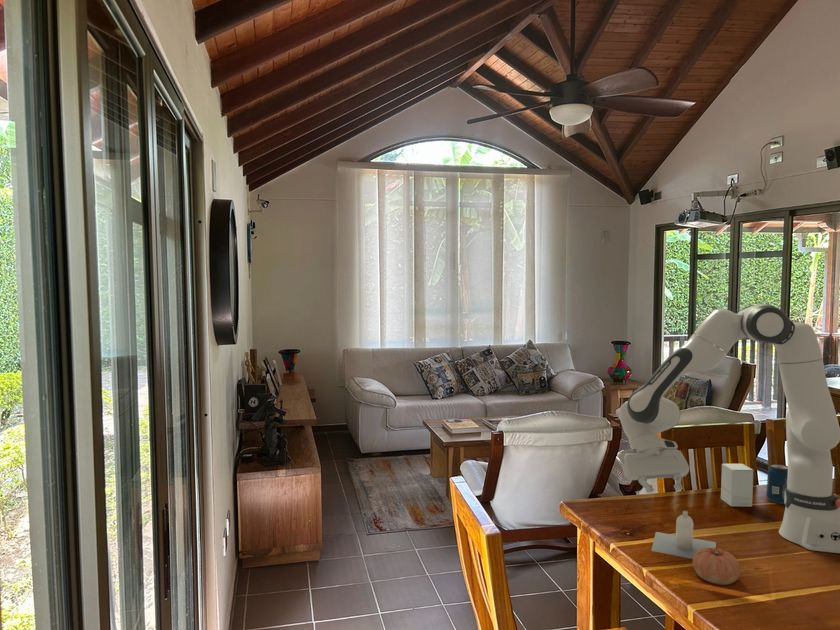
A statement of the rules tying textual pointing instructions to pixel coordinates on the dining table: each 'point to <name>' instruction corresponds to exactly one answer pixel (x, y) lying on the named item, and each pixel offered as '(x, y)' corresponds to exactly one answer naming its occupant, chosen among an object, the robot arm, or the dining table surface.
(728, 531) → the dining table surface
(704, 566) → the tomato
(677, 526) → the white rounded bottle
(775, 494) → the soda can
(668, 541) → the grey pad
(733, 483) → the supplement box
